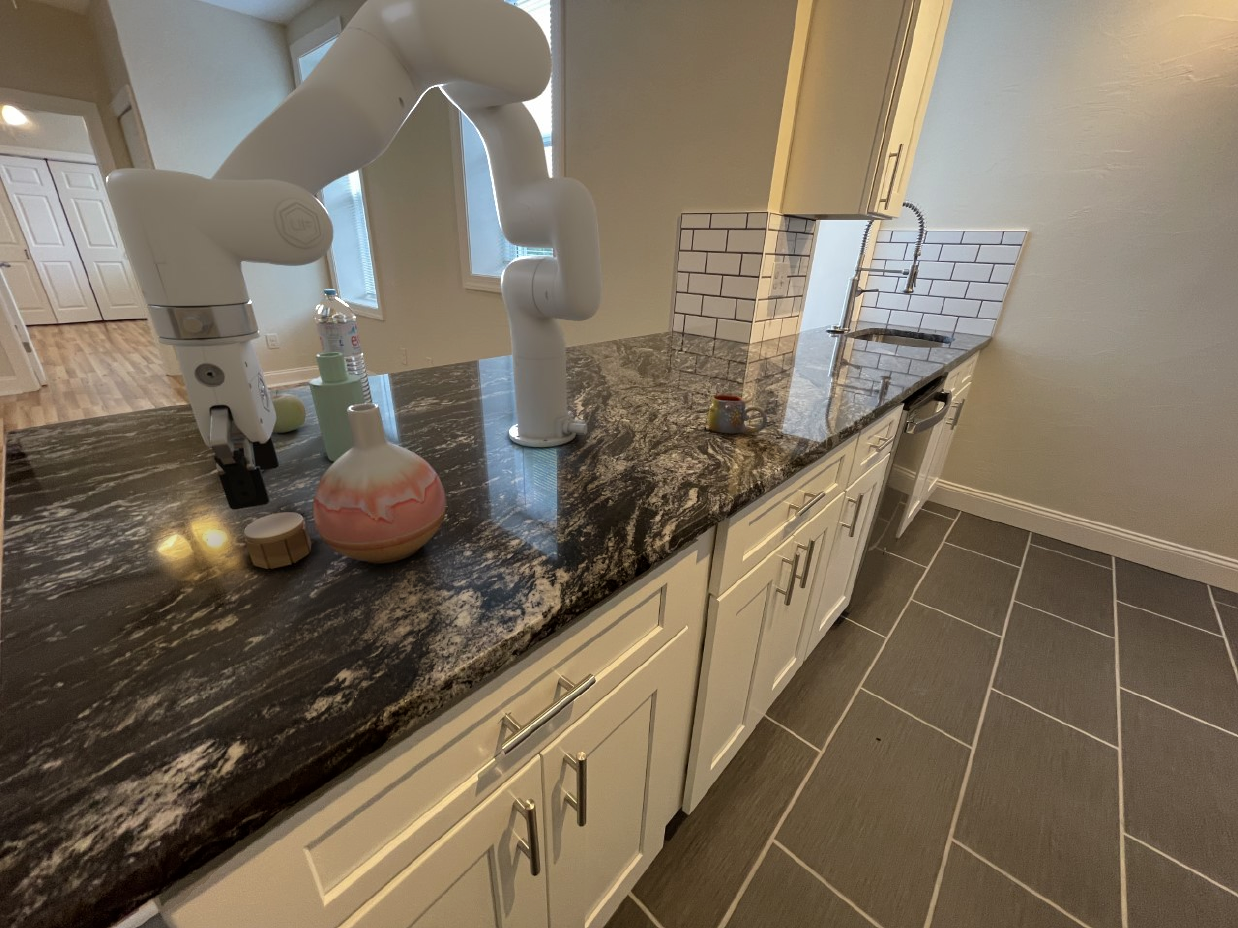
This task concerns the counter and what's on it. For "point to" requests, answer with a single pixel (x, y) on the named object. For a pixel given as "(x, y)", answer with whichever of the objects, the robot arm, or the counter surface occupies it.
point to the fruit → (288, 412)
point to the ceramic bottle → (335, 402)
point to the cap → (277, 540)
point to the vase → (377, 496)
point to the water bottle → (342, 336)
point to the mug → (731, 415)
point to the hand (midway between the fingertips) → (257, 486)
